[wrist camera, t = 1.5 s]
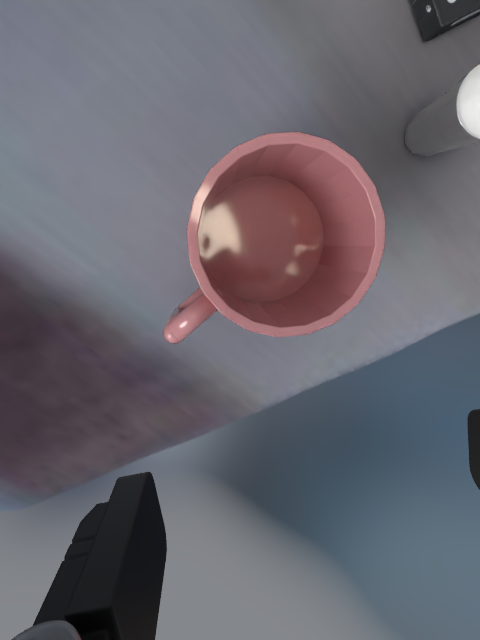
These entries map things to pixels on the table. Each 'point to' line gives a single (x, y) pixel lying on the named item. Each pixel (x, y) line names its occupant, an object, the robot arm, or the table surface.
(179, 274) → the table surface
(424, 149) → the milkshake
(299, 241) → the pink coffee mug
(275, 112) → the table surface
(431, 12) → the disk drive
